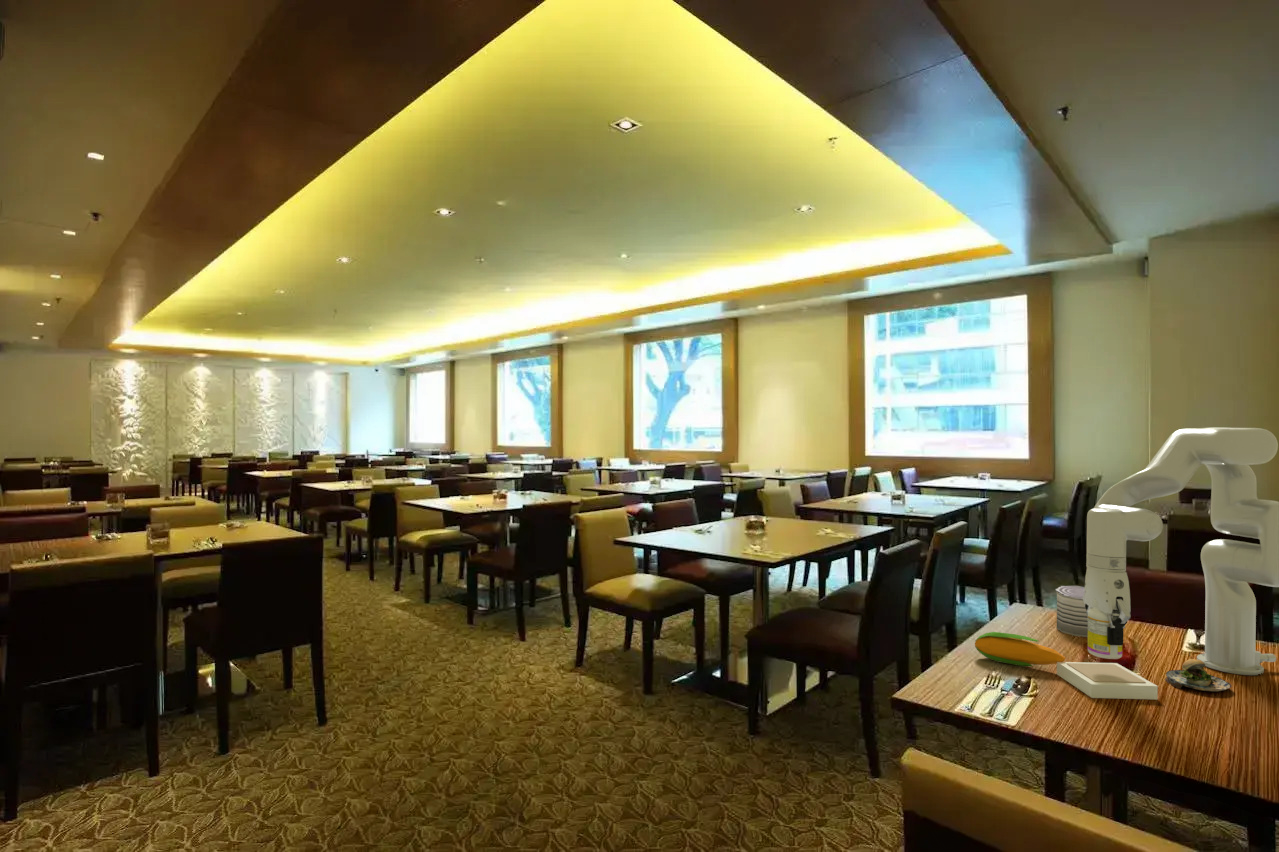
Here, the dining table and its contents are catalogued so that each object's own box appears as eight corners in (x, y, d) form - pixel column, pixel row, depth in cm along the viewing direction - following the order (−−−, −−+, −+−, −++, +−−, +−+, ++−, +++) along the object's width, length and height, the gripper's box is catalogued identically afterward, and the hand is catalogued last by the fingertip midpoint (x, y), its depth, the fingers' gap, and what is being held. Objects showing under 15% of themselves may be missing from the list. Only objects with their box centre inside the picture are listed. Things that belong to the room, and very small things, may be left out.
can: (1106, 631, 198) (1106, 590, 198) (1098, 640, 190) (1098, 597, 190) (1061, 623, 206) (1061, 583, 206) (1051, 631, 198) (1052, 590, 197)
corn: (977, 623, 179) (1066, 637, 168) (978, 651, 180) (1067, 667, 168) (972, 632, 173) (1064, 646, 162) (972, 661, 174) (1064, 678, 162)
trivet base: (1116, 675, 164) (1116, 662, 163) (1157, 699, 150) (1157, 684, 150) (1056, 674, 164) (1056, 660, 164) (1091, 697, 150) (1091, 683, 150)
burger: (1176, 692, 154) (1177, 659, 154) (1157, 674, 165) (1157, 643, 165) (1242, 700, 150) (1242, 666, 150) (1217, 681, 161) (1218, 649, 161)
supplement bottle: (1111, 650, 160) (1112, 596, 160) (1128, 660, 153) (1129, 603, 153) (1081, 649, 160) (1081, 595, 160) (1097, 659, 154) (1098, 602, 154)
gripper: (1148, 571, 148) (1147, 652, 148) (1099, 555, 165) (1098, 628, 165) (1112, 570, 148) (1111, 651, 148) (1067, 554, 166) (1066, 627, 166)
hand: (1104, 638), depth 157 cm, fingers closed on supplement bottle, 6 cm apart
